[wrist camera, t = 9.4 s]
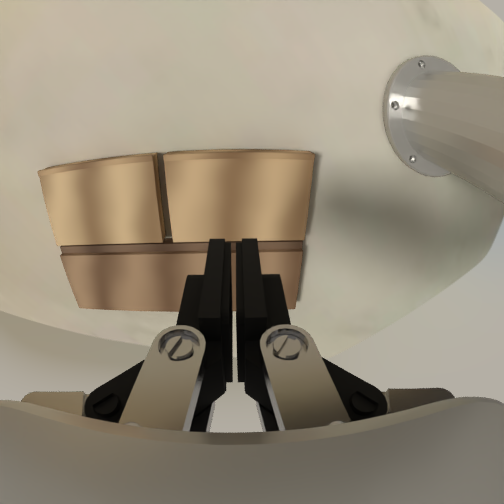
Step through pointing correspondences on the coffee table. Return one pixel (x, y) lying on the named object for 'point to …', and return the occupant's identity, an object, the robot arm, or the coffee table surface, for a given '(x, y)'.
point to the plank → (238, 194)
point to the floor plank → (162, 272)
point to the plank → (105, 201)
